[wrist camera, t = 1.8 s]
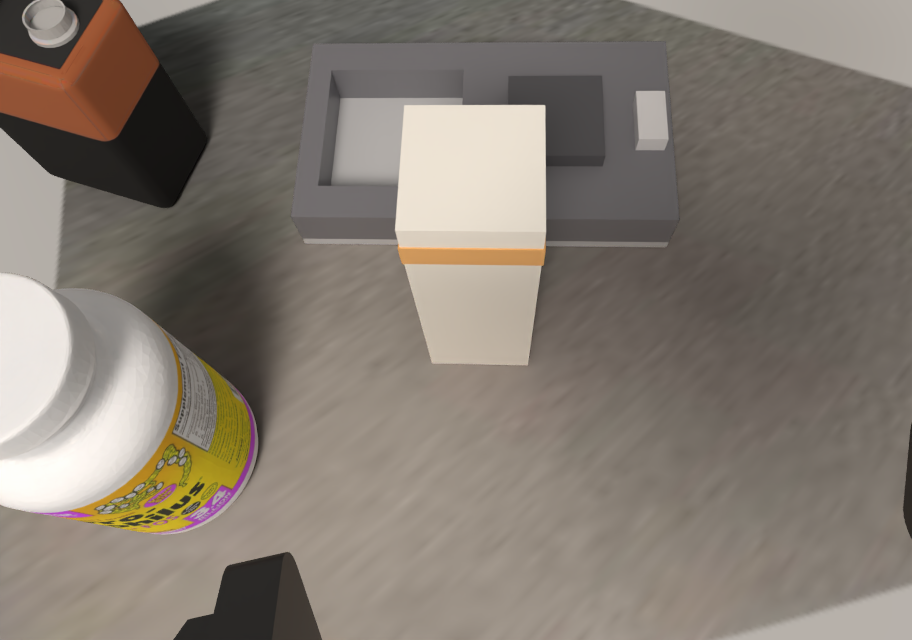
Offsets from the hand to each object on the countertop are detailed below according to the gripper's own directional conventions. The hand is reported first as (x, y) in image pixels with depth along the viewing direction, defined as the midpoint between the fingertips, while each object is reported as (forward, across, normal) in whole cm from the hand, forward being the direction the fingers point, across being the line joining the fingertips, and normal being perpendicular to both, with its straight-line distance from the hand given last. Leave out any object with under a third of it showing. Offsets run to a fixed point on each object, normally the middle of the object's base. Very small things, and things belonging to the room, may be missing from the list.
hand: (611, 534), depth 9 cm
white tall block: (+21, -1, +6) cm, 22 cm away
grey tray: (+27, -3, +1) cm, 27 cm away
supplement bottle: (+20, +12, +9) cm, 25 cm away
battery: (+30, +14, -2) cm, 33 cm away
